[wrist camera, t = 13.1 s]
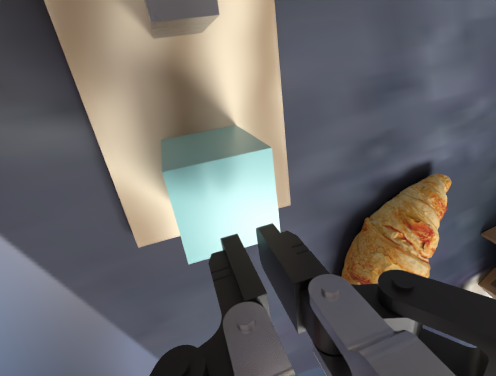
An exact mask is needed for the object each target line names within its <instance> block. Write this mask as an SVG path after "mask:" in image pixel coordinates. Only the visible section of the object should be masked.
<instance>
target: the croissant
mask: <svg viewBox="0 0 496 376" xmlns="http://www.w3.org/2000/svg"><path fill="white" fill-rule="evenodd" d="M450 185H451V180H450V178H449V177H448V176H446V175H442V174H434V175H430V176H429V177H427V178H426V179H423V180H421V181H420V182H418V183H416V184H414V185H412V186H409V187H408V188H406V189H404V190H403V191H401V192H400V193H399V194H398V195H397V196H396V197H394V198H393V199H391V200H390V201H387V202H386V203H385V204H384V205H383V206H382V207H381V208H380V209H379V210H377V211H376V212H375V213H373V214H372V215H371V216H370V218H366V219H365V221H364V225H363V227H362V230H361V232H360V233H359V234H358V235H357V236H356V237H355V239H354V240H353V242H352V244H351V246H350V248H349V250H348V252H347V255H346V258H345V264H344V268H343V270H342V276H341V277H342V278H344V279H345V280H347V281H348V282H349V283H350V284H354V285H360V284H376V283H378V278H379V276H380V275H381V274H382V273H383V272H385V271H388V270H404V271H407V272H411V273H414V274H417V275H420V276H423V277H426V278H429V274H430V272H429V271H430V265H429V263H428V262H429V260H428V258H430V257H432V255H433V253H434V252H435V250H436V247H437V244H438V240H439V234H438V231H437V230H438V228H439V223H440V221H441V219H442V218H443V216H444V213H445V212H446V210H447V207H446V206H447V196H446V192H447V191H448V189H449V187H450Z"/></svg>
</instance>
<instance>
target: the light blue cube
mask: <svg viewBox="0 0 496 376" xmlns="http://www.w3.org/2000/svg"><path fill="white" fill-rule="evenodd" d="M161 146H162V174H163V177H164V181H165V184H166V187H167V191H168V194H169V198H170V201H171V205H172V208H173V212H174V215H175V218H176V222H177V225H178V229H179V232H180V236H181V239H182V243H183V246H184V250H185V253H186V256H187V260H188V263H189V264H192V263H195V262H198V261H202V260H205V259H208V258H210V257H211V254H212V253H215V252H219V251H222V250H223V249H222V244H221V238H223V237H226V236H230V235H233V234H238V236H239V238H240V240H241V242H242V244H243V246H244V248H245V247H248V246H251V245H255V244H258V242H257V235H256V228H257V227H261V226H264V225H268V224H271V223H273V224H274V225H275V226H276V228H277V229H278V230H279V232H280V224H279V214H278V204H277V194H276V184H275V174H274V164H273V154H272V147H270V146H269V145H267V144H265V143H264V142H262V141H261V140H259V139H257V138H256V137H254V136H253V135H251V134H250V133H248V132H246V131H245V130H243V129H242V128H240V127H239V126H237V125H234V126H229V127H224V128H219V129H214V130H209V131H203V132H198V133H193V134H188V135H183V136H178V137H173V138H168V139H163V140H161Z"/></svg>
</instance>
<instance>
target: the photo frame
mask: <svg viewBox="0 0 496 376" xmlns="http://www.w3.org/2000/svg"><path fill="white" fill-rule="evenodd" d="M481 236H483V237H485V238H486V239H488V240H490V241H491V242H493V243H495V244H496V226H495V227H493V228H491V229H489V230H487V231H485V232H483V233H482V234H481ZM478 285H479V286H480V287H482V288H483V289H484V290H485V291H486V292H487V293H488V294H489V295H491V296H492V297H493V298H494V299H496V267H495V268H494V269H493V270H492V271H491V272H490V273H489V274H488V275H487V276H486V277H485V278H484V279H483V280H482V281H481V282H480V283H479V284H478Z"/></svg>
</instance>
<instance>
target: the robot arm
mask: <svg viewBox="0 0 496 376" xmlns="http://www.w3.org/2000/svg"><path fill="white" fill-rule="evenodd" d="M256 235H257V242H258V249H259V256H260V260H261V264H262V267H263V269H264V271H265V273H266V275H267V277H268V279H269V281H270V282H271V284H272V286H273V288H274V290H275V292H276V294H277V295H278V297H279V299H280V301H281V303H282V305H283V307H284V308H285V310H286V312H287V314H288V316H289V318H290V320H291V321H292V323H293V325H294V327H295V329H296V331H297V333H298V334H299V333H302V332H304V331H307V332H308V334H309V336H310V338H311V345H312V350H313V352H314V354H315V356H316V358H317V359H318V361H319V363H320V365H321V367H322V368H323V370H324V372H325V373H326V375H327V376H496V299H493V298H489V297H486V296H483V295H480V294H477V293H474V292H470V291H467V290H464V289H461V288H458V287H455V286H452V285H448V284H445V283H442V282H439V281H436V280H433V279H429V278H426V277H423V276H420V275H417V274H414V273H411V272H407V271H404V270H388V271H385V272H383V273H382V274H381V275H380V276H379V278H378V283H376V284H360V285H354V284H350V283H349V282H348V281H347V280H345V279H344V278H342V277H340V276H337V275H333V274H330V273H329V272H328V271H327V270H326V269H325V267H324V266H323V265H322V264H321V263H320V262H319V261H318V259H317V258H316V257H315V256H314V255H313V254H312V252H311V251H309V249H308V248H307V247H306V245H304V243H303V242H302V241H301V240H300V238H299V237H298V236H297V235H295V234H293V233H291V232H289V231H285V232H282V233H280V232H279V230H278V229H277V228H276V226H275V225H274V224H273V223H271V224H268V225H264V226H261V227H257V228H256ZM221 244H222V249H223V250H222V251H219V252H215V253H212V254H211V257H210V260H209V267H210V271H211V275H212V279H213V283H214V287H215V290H216V294H217V298H218V302H219V306H220V310H221V314H222V320H221V324H220V327H219V328H218V330H217V332H216V333H215V334H214V335H213V336H212V338H210V339H209V340H208V341H207V342H205V343H204V344H203V345H201V346H200V347H198V348H196V347H194V346H191V345H181V346H178V347H175V348H173V349H171V350H169V351H168V352H167V353H165V354H164V355H163V356H162V357H161V358H160V360H159V361H158V362H157V364H156V365H155V367H154V369H153V371H152V372H151V374H150V376H299V375H296V374H295V372H294V370H293V368H292V366H291V364H290V362H289V360H288V357H287V355H286V353H285V351H284V348H283V346H282V344H281V342H280V339H279V337H278V335H277V333H276V330H275V328H274V326H273V324H272V322H271V317H270V310H269V303H268V297H267V292H266V290H265V288H264V286H263V284H262V282H261V280H260V278H259V276H258V274H257V272H256V270H255V268H254V266H253V264H252V262H251V260H250V258H249V256H248V254H247V252H246V250H245V248H244V246H243V244H242V242H241V240H240V238H239V236H238V234H233V235H230V236H226V237H223V238H221ZM423 325H426V326H428V327H431V328H433V329H436V330H438V331H441V332H443V333H445V334H448V335H450V336H453V337H455V338H458V339H460V340H462V341H465V342H467V343H470V344H472V345H474V346H477V348H470V347H466V346H464V345H461V344H459V343H457V342H454V341H452V340H449V339H447V338H445V337H442V336H440V335H437V334H435V333H433V332H430V331H428V330H426V329H423V328H422V327H423Z"/></svg>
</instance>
